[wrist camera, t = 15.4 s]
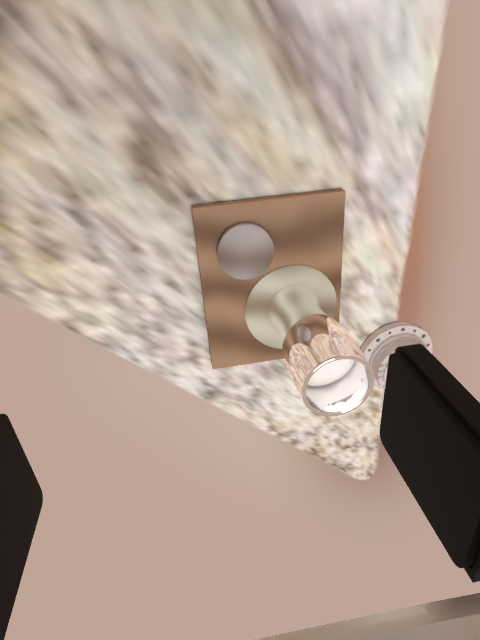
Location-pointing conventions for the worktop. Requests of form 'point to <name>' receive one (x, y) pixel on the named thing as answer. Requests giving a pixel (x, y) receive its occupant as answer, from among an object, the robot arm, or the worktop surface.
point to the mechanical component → (391, 346)
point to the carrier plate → (265, 266)
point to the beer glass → (319, 353)
